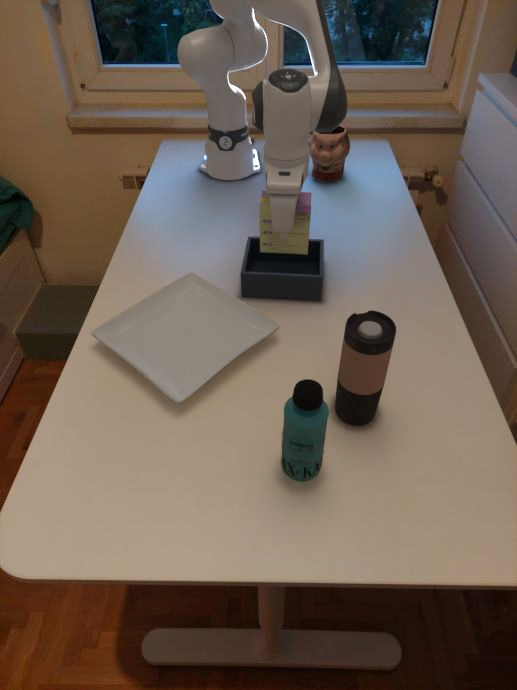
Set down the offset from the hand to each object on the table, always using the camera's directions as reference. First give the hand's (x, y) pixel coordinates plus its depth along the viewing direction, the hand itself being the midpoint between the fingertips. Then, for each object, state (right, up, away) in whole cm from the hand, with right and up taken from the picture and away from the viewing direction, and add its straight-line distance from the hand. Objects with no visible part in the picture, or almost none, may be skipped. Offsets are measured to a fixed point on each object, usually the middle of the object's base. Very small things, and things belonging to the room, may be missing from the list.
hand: (284, 228), depth 107 cm
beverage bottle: (+1, -45, -27) cm, 52 cm away
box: (0, -3, +3) cm, 5 cm away
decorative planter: (+15, +28, +48) cm, 57 cm away
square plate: (-20, -24, -5) cm, 32 cm away
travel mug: (+11, -36, -18) cm, 42 cm away
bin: (0, -10, +9) cm, 14 cm away
